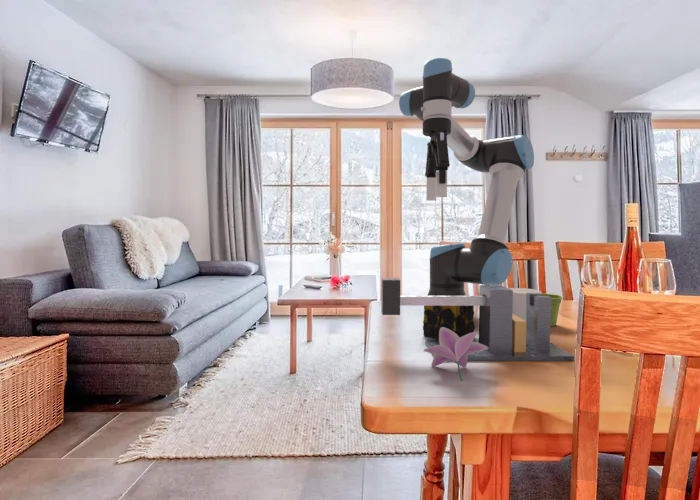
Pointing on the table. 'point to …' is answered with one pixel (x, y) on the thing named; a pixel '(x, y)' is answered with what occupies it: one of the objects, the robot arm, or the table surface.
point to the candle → (448, 320)
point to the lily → (454, 348)
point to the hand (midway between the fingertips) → (436, 199)
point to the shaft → (419, 299)
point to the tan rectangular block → (518, 334)
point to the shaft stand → (499, 328)
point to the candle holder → (521, 301)
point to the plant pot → (554, 307)
